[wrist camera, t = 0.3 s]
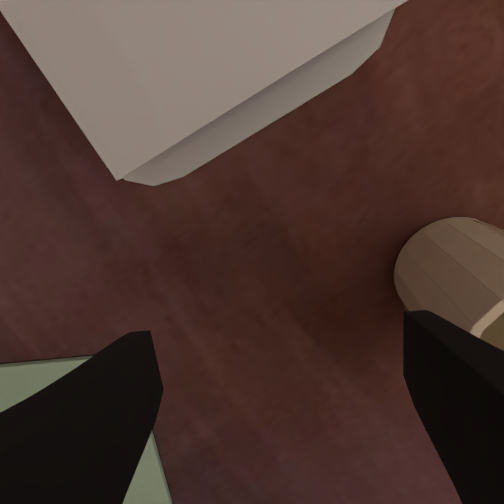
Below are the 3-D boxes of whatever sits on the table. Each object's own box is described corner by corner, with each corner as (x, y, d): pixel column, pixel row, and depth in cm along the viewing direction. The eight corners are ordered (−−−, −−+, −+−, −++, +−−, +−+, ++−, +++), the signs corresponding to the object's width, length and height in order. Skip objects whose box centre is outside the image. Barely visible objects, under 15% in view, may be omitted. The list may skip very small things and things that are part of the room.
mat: (172, 502, 27) (171, 508, 27) (9, 510, 29) (6, 516, 28) (130, 351, 24) (128, 355, 23) (-56, 368, 25) (-61, 372, 24)
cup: (506, 315, 21) (631, 426, 14) (394, 325, 22) (456, 437, 14) (514, 209, 20) (662, 271, 12) (391, 224, 20) (459, 291, 13)
